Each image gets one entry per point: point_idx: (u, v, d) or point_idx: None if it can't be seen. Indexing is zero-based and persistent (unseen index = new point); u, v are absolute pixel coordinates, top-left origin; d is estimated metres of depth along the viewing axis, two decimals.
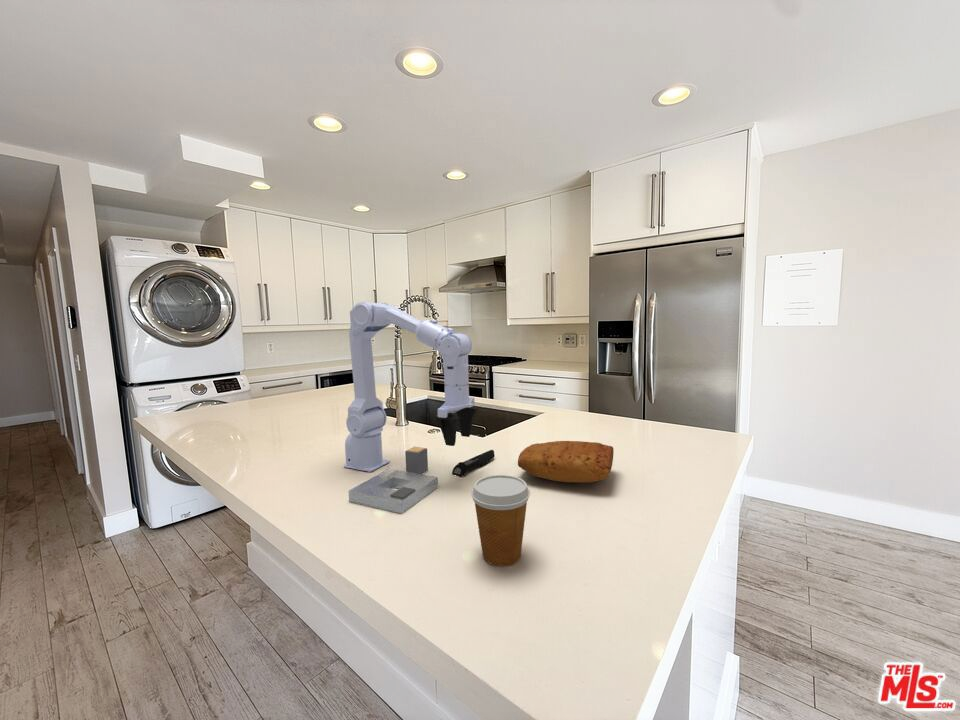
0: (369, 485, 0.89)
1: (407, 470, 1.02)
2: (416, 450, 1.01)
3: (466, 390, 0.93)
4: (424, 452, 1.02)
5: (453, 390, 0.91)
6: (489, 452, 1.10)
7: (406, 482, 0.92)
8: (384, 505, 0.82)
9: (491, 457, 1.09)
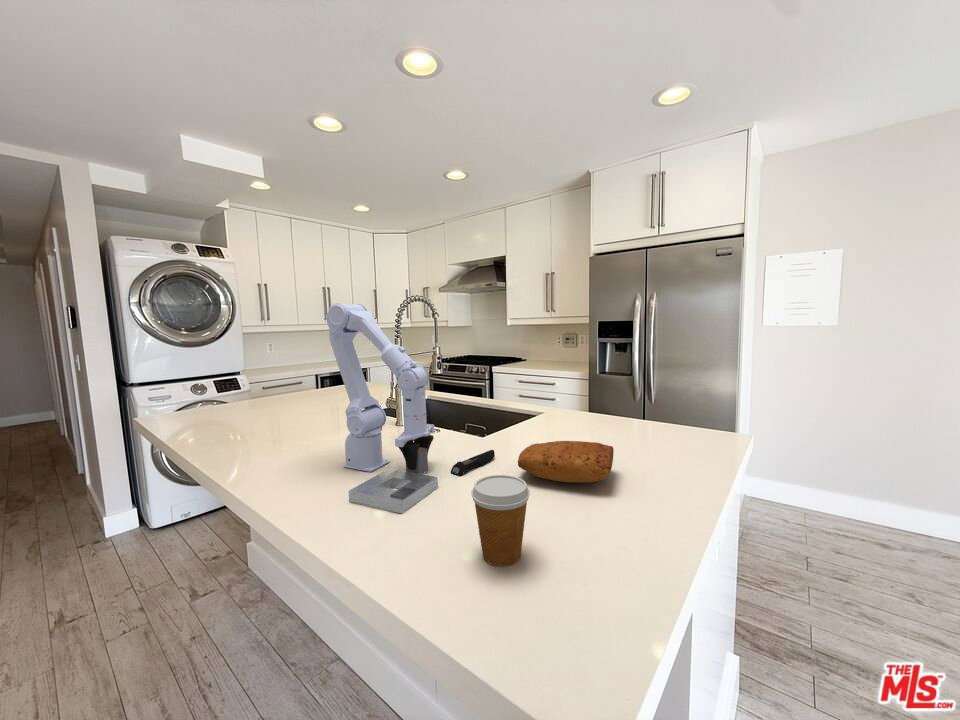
0: (369, 485, 0.89)
1: (407, 470, 1.02)
2: None
3: (423, 420, 1.00)
4: (424, 451, 1.02)
5: (410, 420, 0.99)
6: (489, 452, 1.10)
7: (406, 482, 0.92)
8: (384, 505, 0.82)
9: (491, 457, 1.09)
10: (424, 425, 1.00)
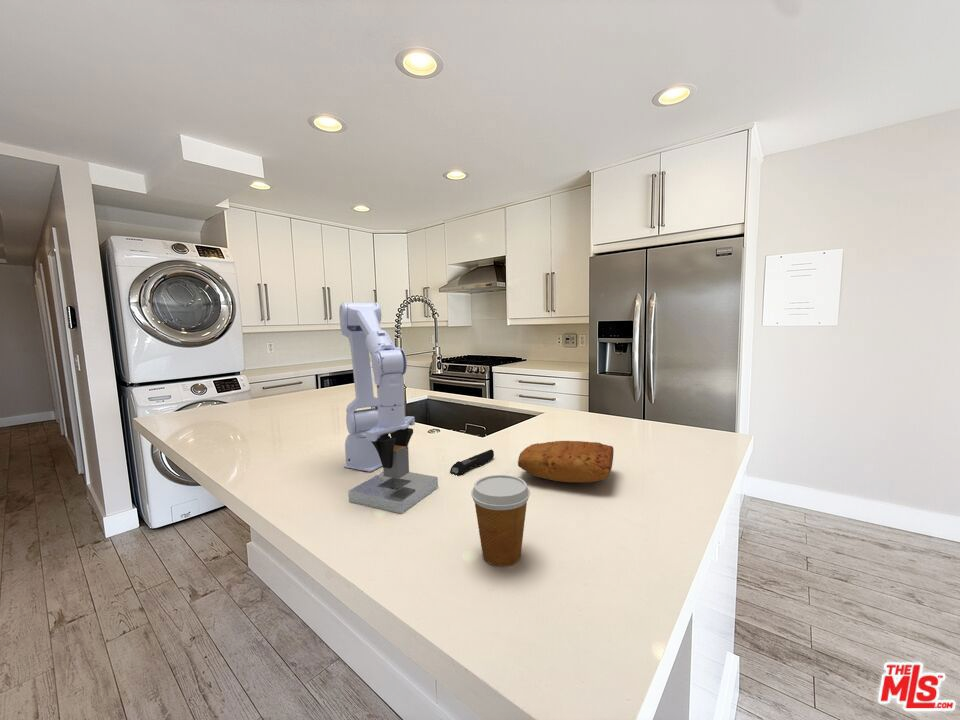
0: (369, 485, 0.89)
1: (384, 472, 0.88)
2: (395, 449, 0.88)
3: (400, 410, 0.86)
4: (404, 451, 0.88)
5: (385, 411, 0.85)
6: (488, 452, 1.10)
7: (406, 482, 0.92)
8: (384, 505, 0.82)
9: (490, 457, 1.10)
10: (401, 416, 0.87)
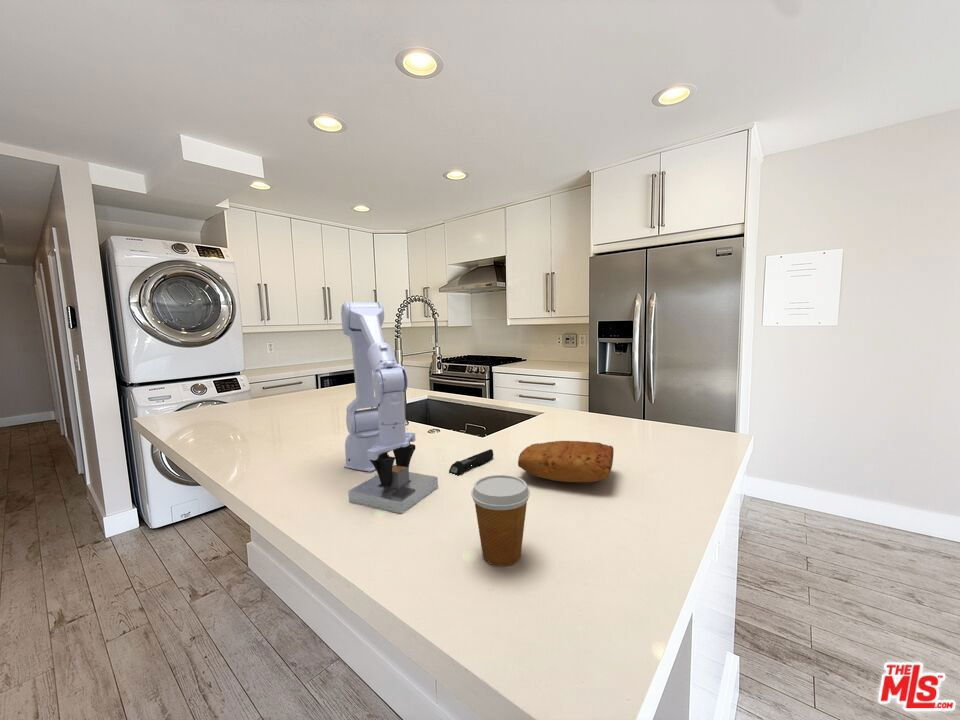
0: (369, 485, 0.89)
1: None
2: (395, 470, 0.88)
3: (401, 428, 0.87)
4: (404, 471, 0.89)
5: (386, 429, 0.86)
6: (488, 452, 1.10)
7: None
8: (384, 505, 0.82)
9: (490, 457, 1.10)
10: (402, 434, 0.87)
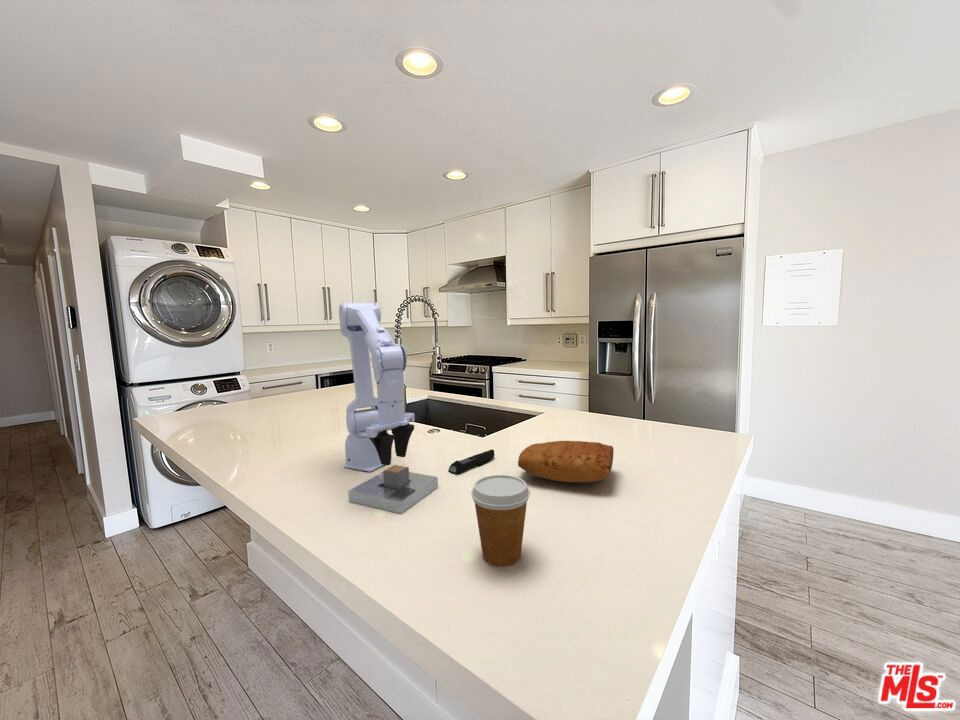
0: (369, 485, 0.89)
1: None
2: (396, 470, 0.88)
3: (400, 407, 0.86)
4: (404, 471, 0.89)
5: (385, 407, 0.85)
6: (489, 452, 1.10)
7: None
8: (384, 505, 0.82)
9: (490, 457, 1.10)
10: (401, 413, 0.87)
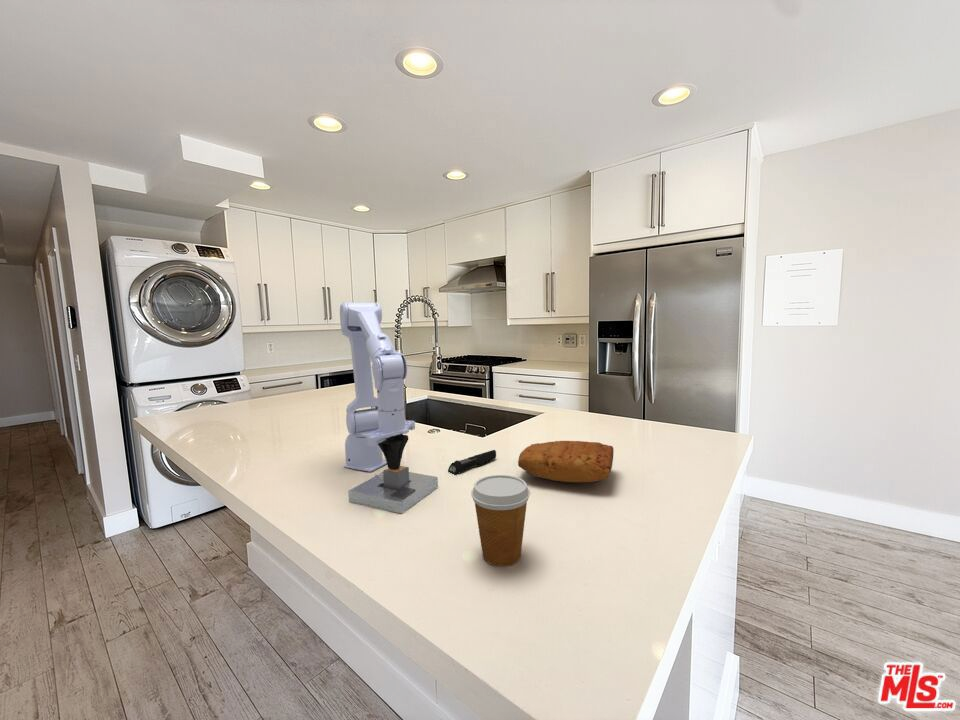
0: (369, 485, 0.89)
1: None
2: (396, 470, 0.88)
3: (400, 415, 0.87)
4: (404, 471, 0.89)
5: (385, 416, 0.85)
6: (490, 452, 1.10)
7: None
8: (384, 505, 0.82)
9: (492, 457, 1.09)
10: (402, 421, 0.87)
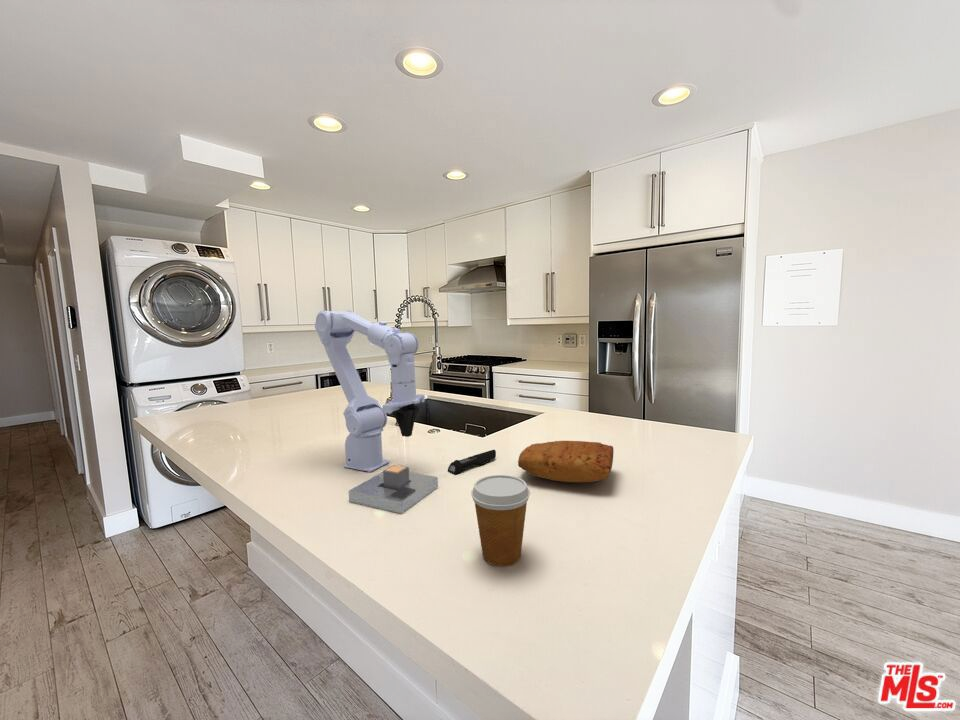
0: (369, 485, 0.89)
1: None
2: (396, 470, 0.88)
3: (412, 387, 0.97)
4: (404, 471, 0.89)
5: (399, 387, 0.95)
6: (490, 452, 1.10)
7: None
8: (384, 505, 0.82)
9: (491, 457, 1.09)
10: (413, 392, 0.97)
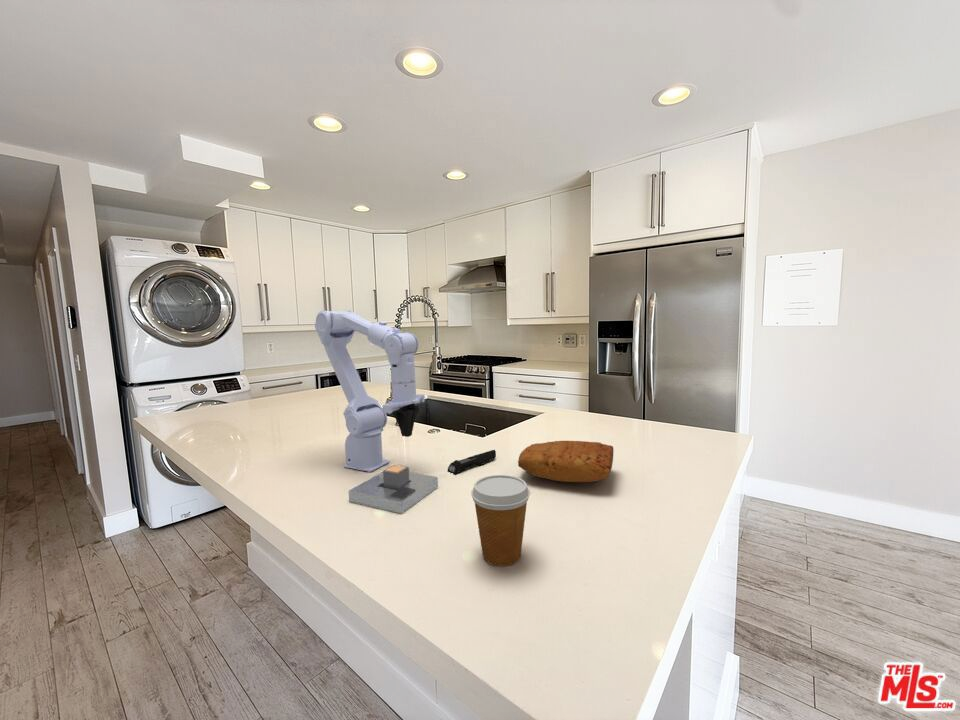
0: (369, 485, 0.89)
1: None
2: (396, 470, 0.88)
3: (412, 387, 0.97)
4: (404, 471, 0.89)
5: (399, 387, 0.95)
6: (490, 452, 1.10)
7: None
8: (384, 505, 0.82)
9: (491, 457, 1.09)
10: (413, 392, 0.97)
